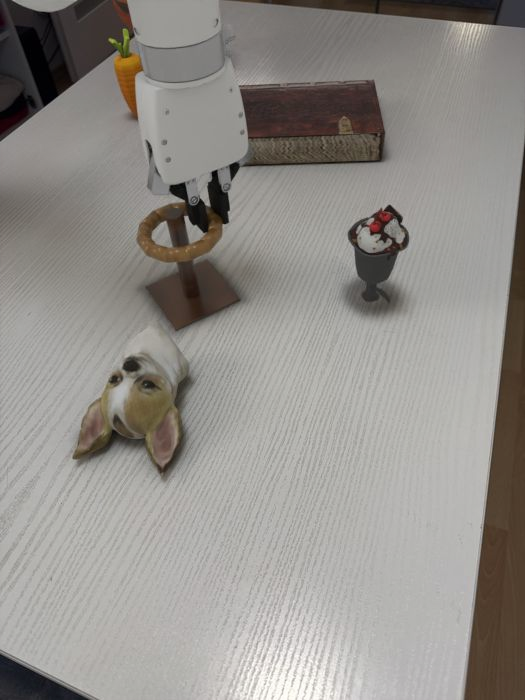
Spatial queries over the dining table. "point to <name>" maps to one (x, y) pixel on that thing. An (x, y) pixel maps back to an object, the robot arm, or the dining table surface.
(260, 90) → the hardback book
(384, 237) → the sundae
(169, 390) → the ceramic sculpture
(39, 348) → the dining table surface
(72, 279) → the dining table surface
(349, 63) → the dining table surface
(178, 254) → the ring
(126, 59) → the carrot
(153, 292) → the peg
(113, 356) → the dining table surface
